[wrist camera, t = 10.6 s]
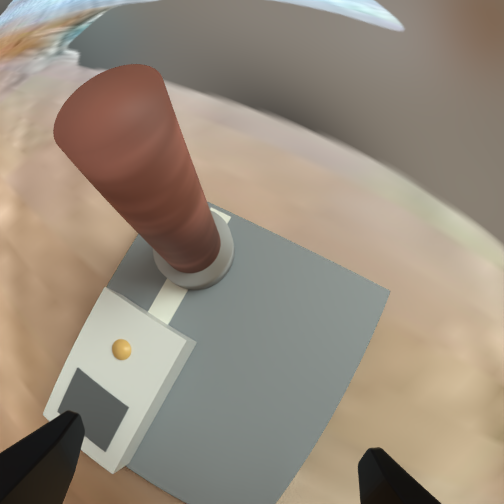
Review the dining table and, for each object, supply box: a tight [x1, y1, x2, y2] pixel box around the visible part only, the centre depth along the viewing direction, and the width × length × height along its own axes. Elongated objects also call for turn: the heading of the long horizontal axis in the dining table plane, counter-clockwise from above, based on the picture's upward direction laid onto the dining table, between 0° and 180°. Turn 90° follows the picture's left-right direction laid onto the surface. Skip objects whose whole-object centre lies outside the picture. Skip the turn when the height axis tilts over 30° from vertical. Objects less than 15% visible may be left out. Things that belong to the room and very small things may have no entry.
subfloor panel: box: [107, 202, 390, 504], centre depth 19 cm, size 19×17×1 cm
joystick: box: [53, 64, 235, 290], centre depth 14 cm, size 5×5×14 cm
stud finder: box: [43, 287, 197, 474], centre depth 16 cm, size 10×6×3 cm, turn 152°
